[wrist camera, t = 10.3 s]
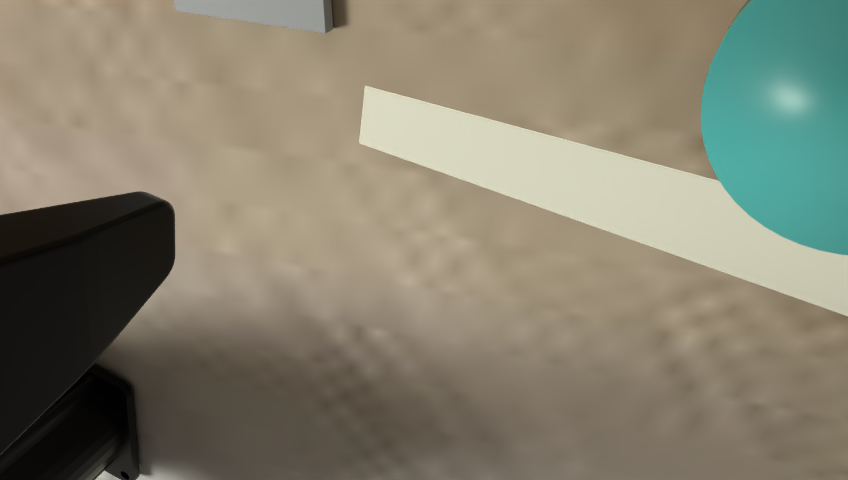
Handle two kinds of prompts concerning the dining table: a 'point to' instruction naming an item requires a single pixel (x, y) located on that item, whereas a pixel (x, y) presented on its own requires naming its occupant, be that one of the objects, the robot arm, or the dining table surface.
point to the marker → (783, 118)
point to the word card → (266, 12)
